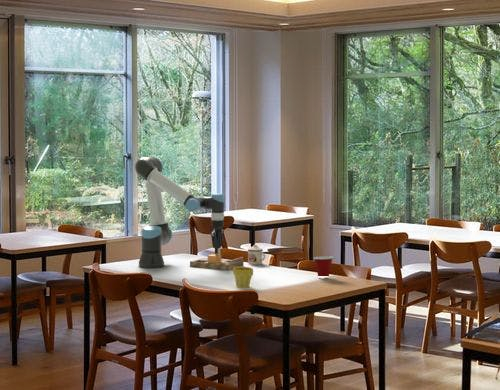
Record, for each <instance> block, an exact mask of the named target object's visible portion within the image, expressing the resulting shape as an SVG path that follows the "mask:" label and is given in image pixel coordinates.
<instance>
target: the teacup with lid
mask: <svg viewBox="0 0 500 390" xmlns="http://www.w3.org/2000/svg"><path fill="white" fill-rule="evenodd" d="M265 259H266V254H265V253H264V252H263V248H262V247H260V246H258V245H257V244H253V246H251V247H248V248H247V264H248V263H249V264H248V265H251V264H253V265H252V266H255V265H256V266H257V265H262V264H263V262H264V260H265Z"/></svg>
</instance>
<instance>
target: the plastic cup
mask: <svg viewBox="0 0 500 390" xmlns="http://www.w3.org/2000/svg"><path fill="white" fill-rule="evenodd" d="M333 258H334V256H329V255H328V256H323V255H321V256H315V257H313V259H314V262H315V266H316V267H315V268H316V273H317V277H318V276H329V277H330V273H331V267H332V263H333V262H332V261H333Z"/></svg>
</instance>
